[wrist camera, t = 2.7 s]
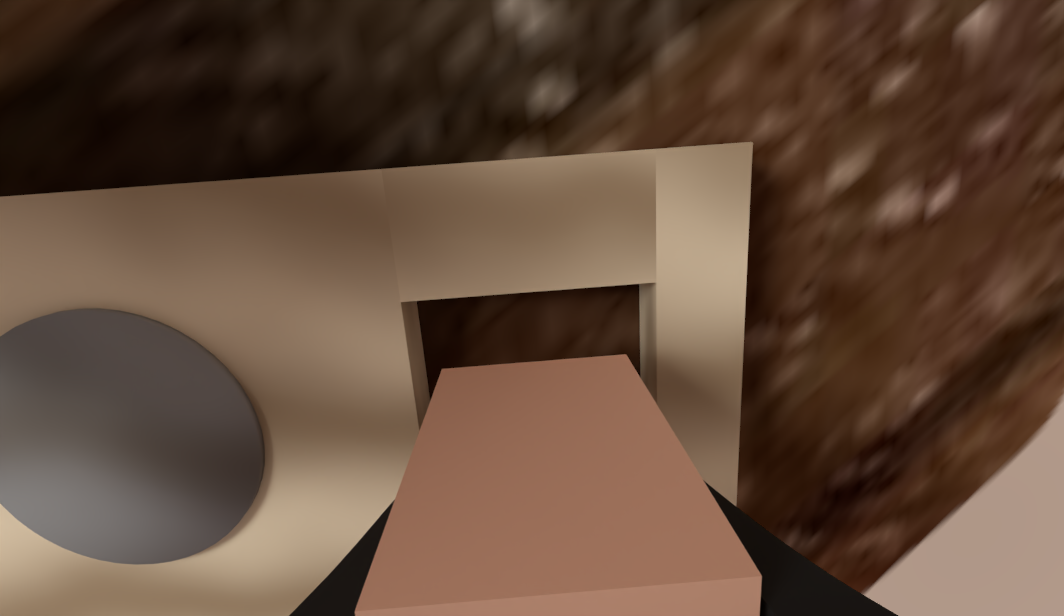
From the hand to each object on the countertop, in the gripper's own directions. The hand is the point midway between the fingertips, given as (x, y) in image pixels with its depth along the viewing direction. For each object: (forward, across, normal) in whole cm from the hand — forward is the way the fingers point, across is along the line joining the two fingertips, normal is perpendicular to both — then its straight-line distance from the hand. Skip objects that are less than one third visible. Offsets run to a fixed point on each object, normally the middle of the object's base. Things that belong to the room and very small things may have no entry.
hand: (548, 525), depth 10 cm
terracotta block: (+3, 0, 0) cm, 3 cm away
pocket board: (+7, +6, 0) cm, 9 cm away
